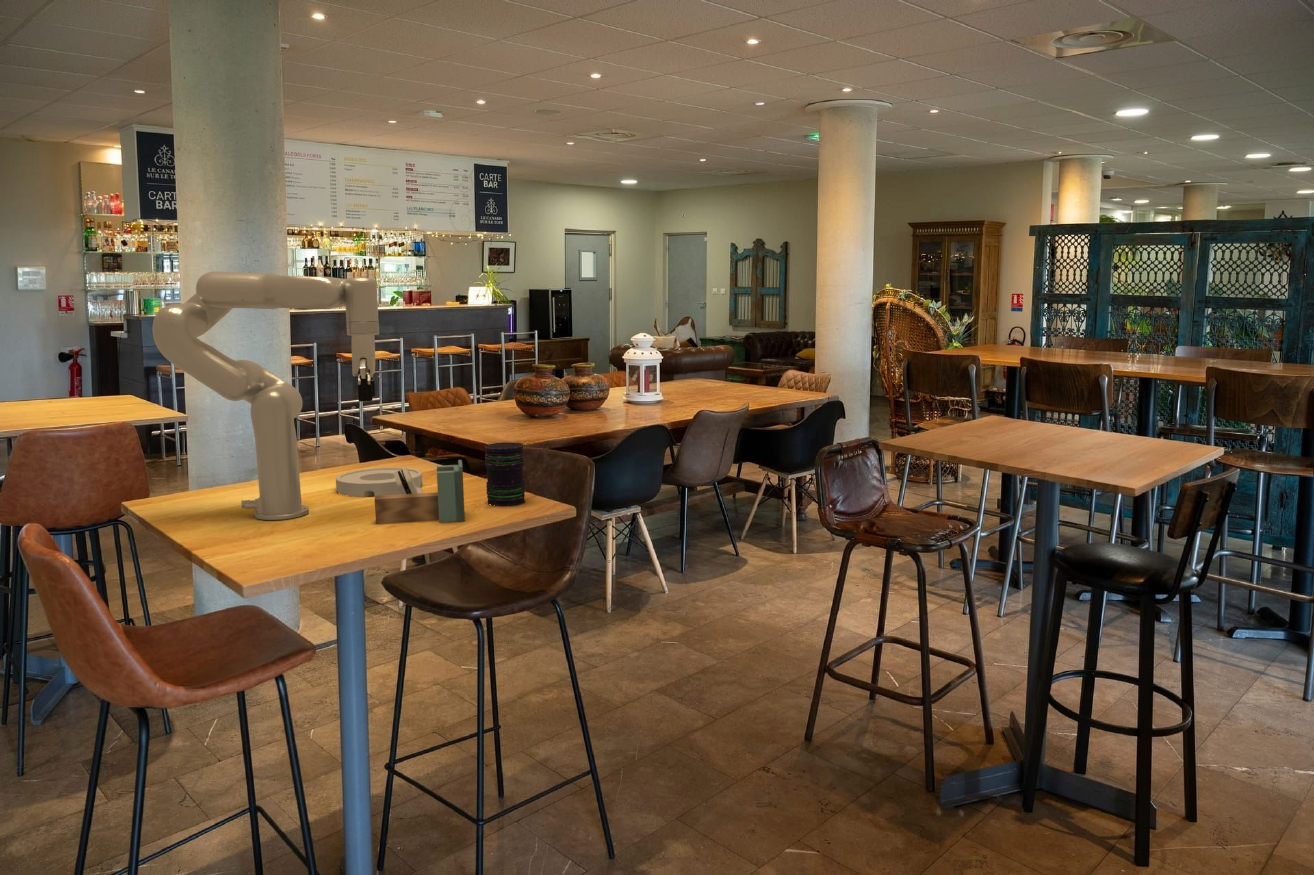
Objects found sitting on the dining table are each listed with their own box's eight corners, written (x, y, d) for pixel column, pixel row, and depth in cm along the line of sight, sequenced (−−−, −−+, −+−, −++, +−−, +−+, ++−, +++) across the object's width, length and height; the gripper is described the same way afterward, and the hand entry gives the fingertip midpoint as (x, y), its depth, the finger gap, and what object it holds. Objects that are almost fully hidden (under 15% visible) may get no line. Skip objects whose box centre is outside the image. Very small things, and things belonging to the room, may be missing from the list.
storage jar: (499, 508, 245) (496, 450, 242) (479, 502, 252) (477, 445, 250) (532, 502, 251) (531, 445, 249) (512, 496, 258) (510, 441, 256)
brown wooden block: (375, 524, 230) (374, 491, 229) (376, 520, 234) (375, 487, 233) (448, 519, 234) (446, 487, 233) (448, 515, 238) (446, 483, 237)
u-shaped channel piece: (439, 522, 231) (436, 468, 229) (439, 513, 240) (436, 461, 238) (464, 521, 232) (462, 466, 230) (463, 512, 241) (461, 459, 239)
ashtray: (320, 490, 271) (319, 476, 270) (393, 477, 288) (392, 464, 287) (365, 502, 255) (364, 487, 255) (439, 488, 272) (438, 474, 272)
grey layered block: (427, 507, 247) (412, 471, 245) (410, 514, 246) (394, 479, 244) (423, 494, 263) (409, 460, 260) (406, 501, 262) (392, 467, 259)
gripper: (350, 327, 244) (354, 395, 247) (343, 330, 227) (347, 403, 230) (381, 327, 246) (384, 394, 248) (376, 330, 229) (380, 402, 232)
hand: (367, 398), depth 239 cm, fingers open, 9 cm apart
